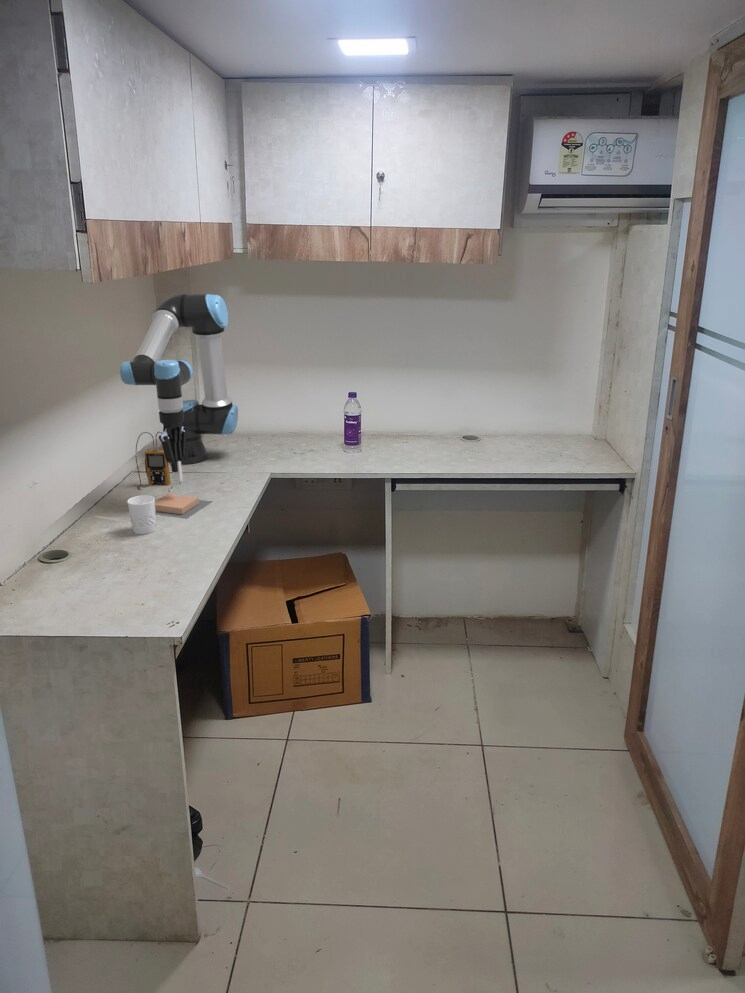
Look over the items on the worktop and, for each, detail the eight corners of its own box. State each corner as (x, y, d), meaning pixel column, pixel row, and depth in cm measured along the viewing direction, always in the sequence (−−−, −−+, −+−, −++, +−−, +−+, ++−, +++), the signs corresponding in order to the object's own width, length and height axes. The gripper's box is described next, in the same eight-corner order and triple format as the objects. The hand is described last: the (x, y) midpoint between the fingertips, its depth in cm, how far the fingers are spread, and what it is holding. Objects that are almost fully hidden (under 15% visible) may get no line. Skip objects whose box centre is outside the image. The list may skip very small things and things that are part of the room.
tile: (167, 494, 240) (149, 504, 231) (198, 497, 237) (181, 508, 228) (167, 500, 241) (150, 510, 232) (199, 504, 238) (182, 515, 229)
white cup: (127, 529, 219) (123, 499, 216) (151, 523, 224) (148, 493, 220) (137, 537, 213) (133, 506, 210) (162, 531, 218) (158, 500, 215)
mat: (166, 497, 246) (166, 495, 245) (212, 503, 240) (212, 501, 240) (138, 513, 231) (138, 512, 231) (187, 520, 226) (186, 518, 226)
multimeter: (131, 494, 249) (124, 438, 242) (141, 484, 258) (134, 430, 251) (173, 494, 248) (167, 439, 241) (181, 484, 258) (176, 431, 251)
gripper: (172, 404, 234) (179, 473, 242) (148, 413, 222) (156, 485, 230) (192, 406, 231) (198, 475, 239) (169, 415, 220) (176, 487, 228)
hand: (178, 480), depth 235 cm, fingers closed
